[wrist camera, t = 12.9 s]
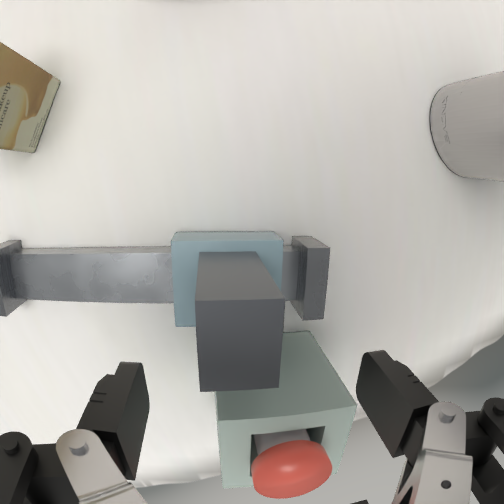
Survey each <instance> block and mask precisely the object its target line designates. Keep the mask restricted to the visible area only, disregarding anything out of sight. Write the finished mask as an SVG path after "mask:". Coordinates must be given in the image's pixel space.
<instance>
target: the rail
mask: <svg viewBox="0 0 504 504" xmlns="http://www.w3.org/2000/svg"><path fill="white" fill-rule="evenodd" d="M329 255H330V248H329V247H328V246H326V245H325V244H323V243H321V242H320V241H318V240H316V239H315V238H313V237H312V236H292V245H283V262H282V282H281V293H282V294H283V296H284V297H285V301H287V300H290V302H291V303H292V305H293V306H294V308H295V310H296V311H297V313H298V314H299V316H300V317H301V319H302V320H317V319H323V318H324V309H325V299H326V289H327V279H328V268H329ZM27 299H33V300H53V301H77V302H112V303H174V295H173V278H172V255H171V246H162V247H86V248H27V249H22V248H21V240H12V241H6V242H3V243H1V244H0V316H8V315H9V314H10V313H11V312H13V311H14V310H15V309H16V308H17V307H19V306H20V305H21V304H22V303H24V302H25V301H26V300H27Z"/></svg>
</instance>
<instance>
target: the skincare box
mask: <svg viewBox="0 0 504 504" xmlns="http://www.w3.org/2000/svg"><path fill="white" fill-rule="evenodd" d="M59 84H60V80H58V79H57V78H55V77H54V76H52V75H51V74H49V73H48V72H46V71H44V70H43V69H41V68H40V67H38V66H37V65H35V64H34V63H32V62H31V61H29V60H28V59H26V58H25V57H23V56H22V55H20V54H18V53H17V52H15V51H14V50H12V49H10V48H9V47H7V46H6V45H4V44H3V43H1V42H0V149H6V150H13V151H21V152H29V153H34V152H35V149H36V146H37V143H38V140H39V138H40V135H41V132H42V129H43V126H44V124H45V121H46V118H47V115H48V113H49V110H50V107H51V105H52V102H53V99H54V97H55V94H56V91H57V89H58V86H59Z"/></svg>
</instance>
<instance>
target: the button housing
mask: <svg viewBox="0 0 504 504" xmlns="http://www.w3.org/2000/svg"><path fill="white" fill-rule="evenodd" d="M215 402H216V416H217V430H218V442H219V454H220V465H221V476H222V485H223V488H240V487H252V486H254V484H253V479H252V474H251V465H252V463H253V461H254V460H255V458H256V457H257V456H258V453H257V448H256V444H255V439H254V434H265V433H275V432H284V431H292V430H300V429H306V430H307V433H308V435H309V438H310V440H311V441H314V442H317V443H319V444H320V445H322V446H323V447H324V448H325V450H326V452H327V455H328V457H329V459H330V461H331V464H332V473H331V475H332V474H336V473H337V470H338V467H339V464H340V461H341V458H342V455H343V452H344V449H345V446H346V443H347V439H348V436H349V433H350V429H351V426H352V422H353V419H354V415H355V412H356V408H357V404H356V402H355V401H354V399H353V398H352V396H351V395H350V393H349V391H348V390H347V388H346V387H345V385H344V384H343V382H342V381H341V379H340V377H339V376H338V374H337V373H336V371H335V370H334V368H333V367H332V365H331V364H330V362H329V360H328V359H327V357H326V356H325V354H324V353H323V351H322V350H321V348H320V346H319V345H318V343H317V342H316V340H315V339H314V337H313V336H312V334H311V333H310V331H303V332H289V333H283V339H282V353H281V366H280V378H279V388H269V389H256V390H238V391H215Z"/></svg>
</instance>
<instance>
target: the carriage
mask: <svg viewBox="0 0 504 504" xmlns="http://www.w3.org/2000/svg"><path fill="white" fill-rule="evenodd" d="M171 255H172V278H173V295H174V311H175V324H176V327H196V336H197V353H198V368H199V381H200V392H211V391H238V390H256V389H269V388H279V378H280V366H281V353H282V339H283V324H284V309H285V297H284V296H283V294H282V293H281V282H282V262H283V239H281V238H280V237H279V236H278V235H277V234H276V233H275V232H176V233H175V235H174V237H173V238H172V240H171Z"/></svg>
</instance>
